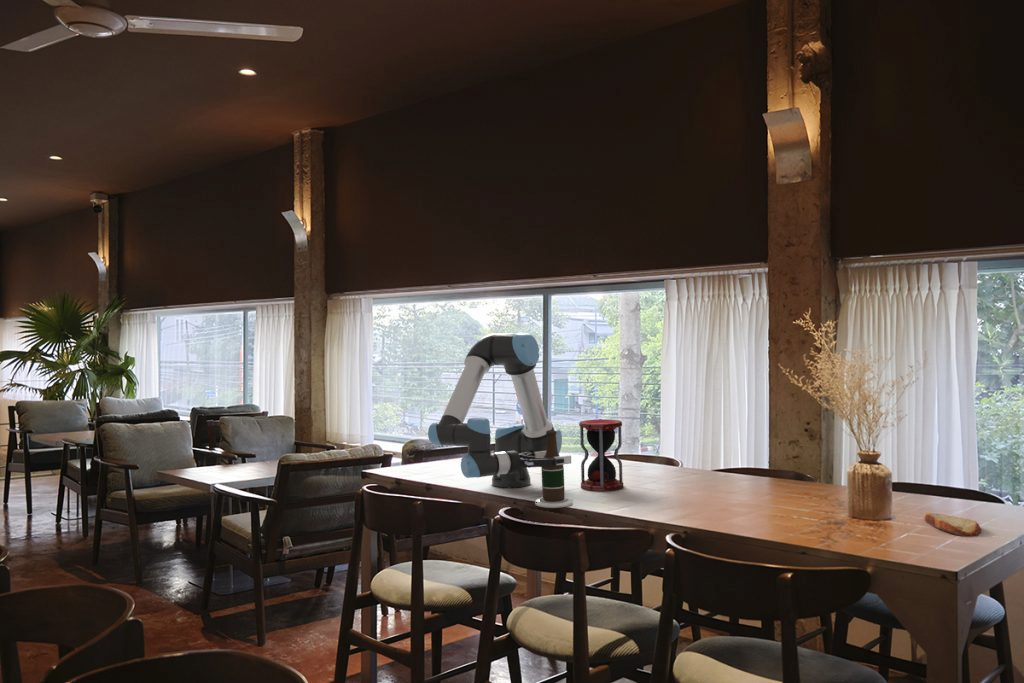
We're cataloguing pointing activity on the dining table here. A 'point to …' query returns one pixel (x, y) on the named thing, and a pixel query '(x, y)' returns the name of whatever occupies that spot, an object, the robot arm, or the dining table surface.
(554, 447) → the beer bottle
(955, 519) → the bread slice
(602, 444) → the hourglass
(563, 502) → the plate
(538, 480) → the dining table surface
